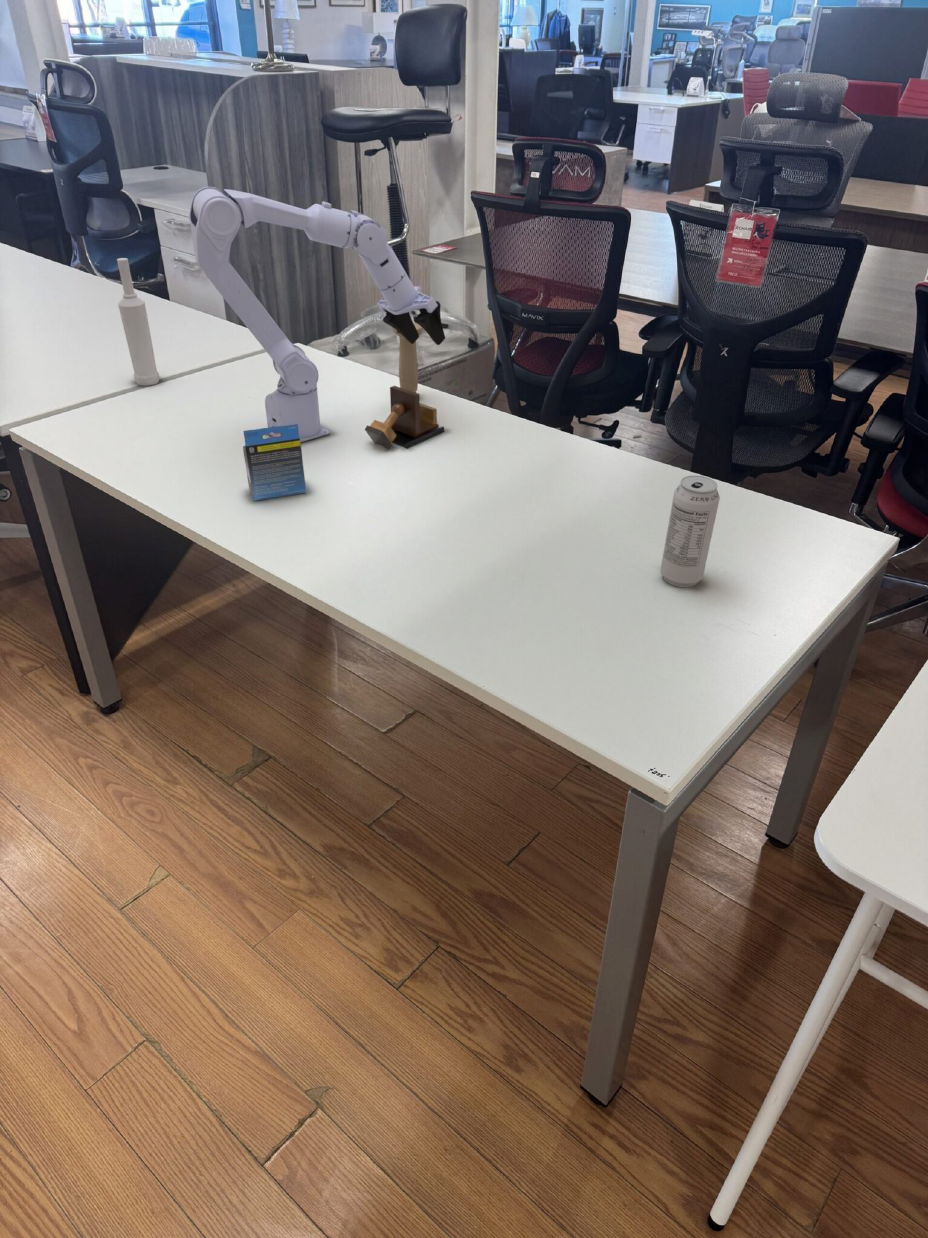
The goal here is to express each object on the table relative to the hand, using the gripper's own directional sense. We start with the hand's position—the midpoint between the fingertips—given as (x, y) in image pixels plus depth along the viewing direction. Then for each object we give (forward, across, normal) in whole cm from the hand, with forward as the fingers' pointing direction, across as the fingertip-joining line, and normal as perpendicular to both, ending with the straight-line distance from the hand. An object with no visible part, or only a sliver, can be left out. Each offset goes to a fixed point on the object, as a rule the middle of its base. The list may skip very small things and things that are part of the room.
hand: (428, 340), depth 161 cm
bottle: (-13, +56, +31) cm, 65 cm away
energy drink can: (+19, -65, +26) cm, 73 cm away
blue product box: (-6, -5, +44) cm, 45 cm away
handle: (+12, +12, +4) cm, 18 cm away
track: (+9, -2, +15) cm, 18 cm away
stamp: (+6, -3, +21) cm, 22 cm away
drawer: (+9, -2, +14) cm, 17 cm away
